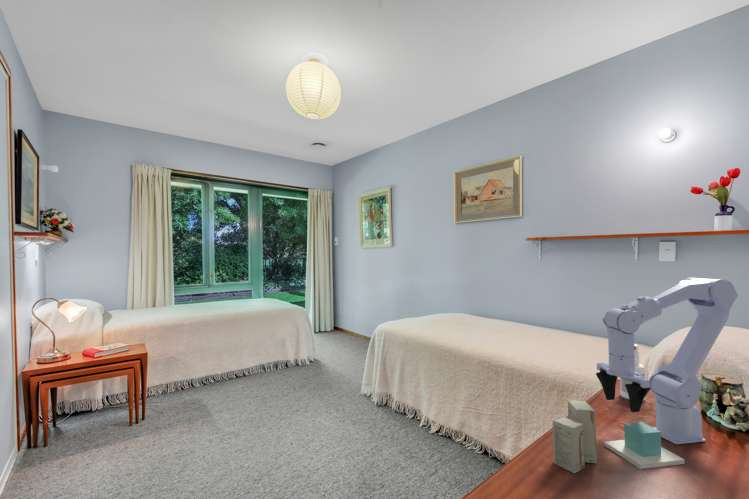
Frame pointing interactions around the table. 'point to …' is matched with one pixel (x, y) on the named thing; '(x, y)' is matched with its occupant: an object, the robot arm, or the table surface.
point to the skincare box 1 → (568, 444)
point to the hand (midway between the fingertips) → (622, 405)
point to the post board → (644, 462)
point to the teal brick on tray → (642, 439)
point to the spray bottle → (638, 369)
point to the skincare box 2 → (585, 427)
